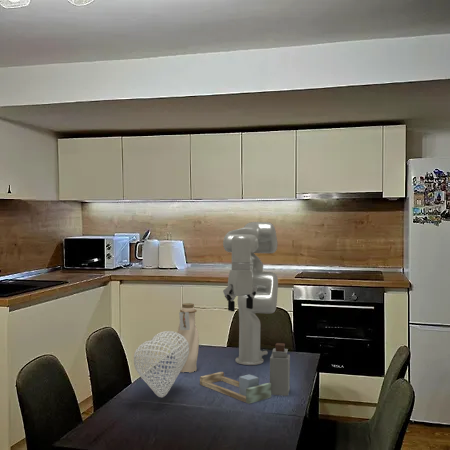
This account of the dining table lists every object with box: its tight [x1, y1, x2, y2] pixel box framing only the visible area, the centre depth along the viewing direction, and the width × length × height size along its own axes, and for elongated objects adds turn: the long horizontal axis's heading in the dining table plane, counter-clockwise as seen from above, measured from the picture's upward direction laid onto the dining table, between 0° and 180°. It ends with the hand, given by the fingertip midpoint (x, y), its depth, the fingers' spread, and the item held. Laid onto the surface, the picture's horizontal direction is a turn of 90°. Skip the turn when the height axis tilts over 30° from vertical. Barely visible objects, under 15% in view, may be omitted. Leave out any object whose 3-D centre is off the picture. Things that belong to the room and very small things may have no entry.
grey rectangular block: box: [238, 374, 260, 396], centre depth 200 cm, size 5×5×7 cm
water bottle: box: [177, 302, 200, 374], centre depth 232 cm, size 10×9×28 cm
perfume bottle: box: [269, 342, 291, 397], centre depth 205 cm, size 7×7×18 cm
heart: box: [133, 330, 189, 398], centre depth 198 cm, size 28×16×22 cm, turn 168°
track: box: [199, 371, 272, 405], centre depth 206 cm, size 11×28×5 cm, turn 40°
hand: (240, 309), depth 218 cm, fingers open, 9 cm apart
